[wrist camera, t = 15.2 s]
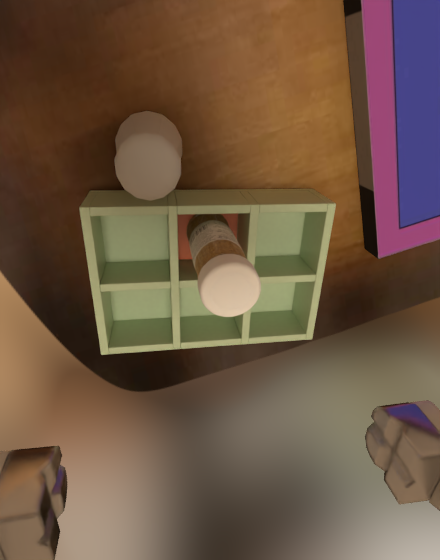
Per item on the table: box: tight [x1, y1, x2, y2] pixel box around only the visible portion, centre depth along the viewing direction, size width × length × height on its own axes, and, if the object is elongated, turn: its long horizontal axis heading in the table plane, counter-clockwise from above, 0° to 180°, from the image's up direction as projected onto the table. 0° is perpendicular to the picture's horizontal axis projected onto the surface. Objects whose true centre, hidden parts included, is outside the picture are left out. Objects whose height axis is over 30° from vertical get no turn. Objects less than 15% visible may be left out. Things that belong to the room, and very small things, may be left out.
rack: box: [79, 189, 336, 355], centre depth 38 cm, size 23×15×6 cm
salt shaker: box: [114, 111, 182, 201], centre depth 29 cm, size 6×6×13 cm
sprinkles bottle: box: [186, 214, 261, 317], centre depth 32 cm, size 5×5×14 cm
